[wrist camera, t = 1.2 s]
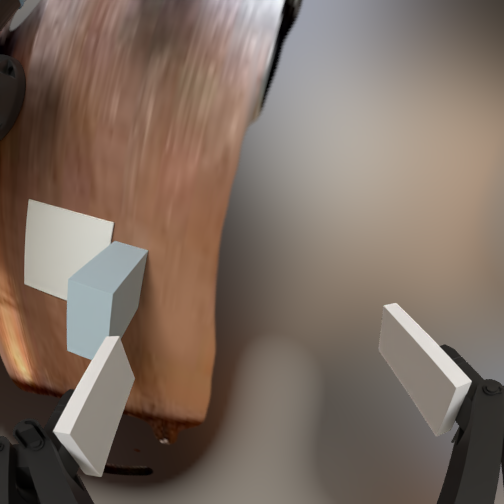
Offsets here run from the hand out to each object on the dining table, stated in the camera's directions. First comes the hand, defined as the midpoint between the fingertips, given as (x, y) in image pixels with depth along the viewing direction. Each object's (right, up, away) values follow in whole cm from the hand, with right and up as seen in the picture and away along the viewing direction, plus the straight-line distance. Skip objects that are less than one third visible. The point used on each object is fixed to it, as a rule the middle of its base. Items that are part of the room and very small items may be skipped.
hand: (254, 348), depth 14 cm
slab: (-18, +1, +27) cm, 32 cm away
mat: (-28, +4, +25) cm, 38 cm away
